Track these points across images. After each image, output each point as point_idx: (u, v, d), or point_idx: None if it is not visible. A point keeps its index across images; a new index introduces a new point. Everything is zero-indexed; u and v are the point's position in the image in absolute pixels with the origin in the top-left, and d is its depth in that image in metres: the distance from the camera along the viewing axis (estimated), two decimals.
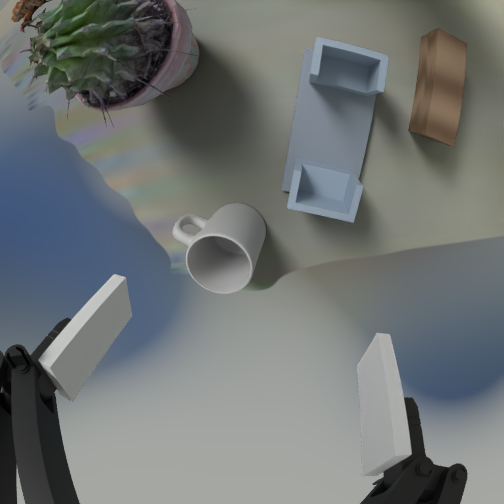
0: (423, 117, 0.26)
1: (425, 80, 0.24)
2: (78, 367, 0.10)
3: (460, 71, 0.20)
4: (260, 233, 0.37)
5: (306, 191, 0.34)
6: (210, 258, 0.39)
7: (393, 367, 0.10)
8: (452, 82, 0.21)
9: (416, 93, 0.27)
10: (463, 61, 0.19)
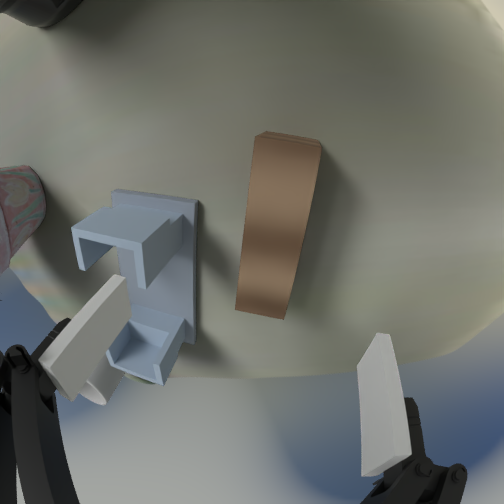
0: None
1: None
2: (78, 367, 0.10)
3: (298, 211, 0.19)
4: None
5: (139, 339, 0.33)
6: None
7: (393, 367, 0.10)
8: (280, 234, 0.21)
9: None
10: (307, 189, 0.19)
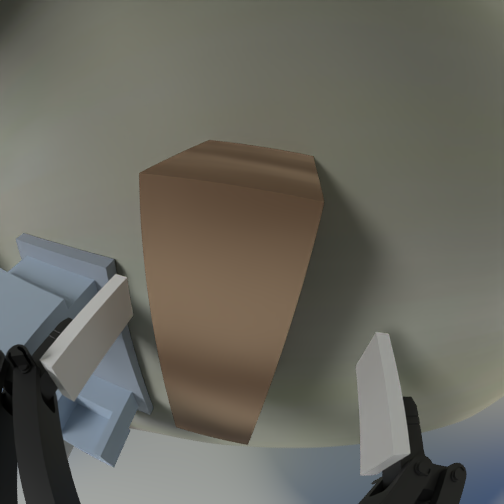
0: None
1: None
2: (80, 367, 0.10)
3: (260, 340, 0.08)
4: None
5: (85, 407, 0.22)
6: None
7: (392, 366, 0.10)
8: (226, 369, 0.10)
9: None
10: (281, 303, 0.08)
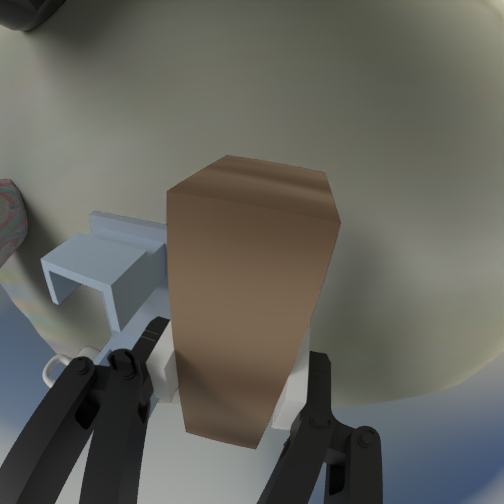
0: None
1: None
2: None
3: (275, 348, 0.09)
4: None
5: None
6: None
7: None
8: (240, 376, 0.10)
9: None
10: (297, 315, 0.08)
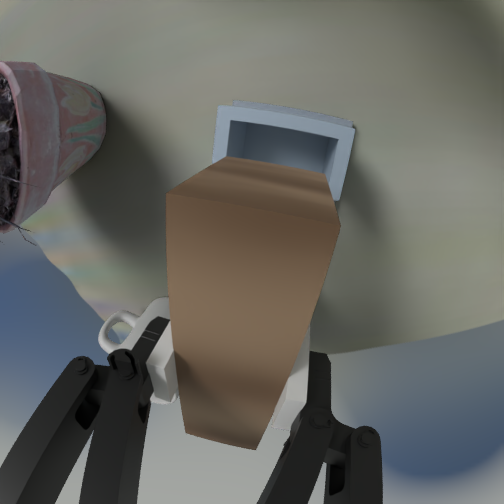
0: None
1: None
2: None
3: (275, 350, 0.09)
4: None
5: None
6: None
7: None
8: (240, 378, 0.10)
9: None
10: (297, 317, 0.08)
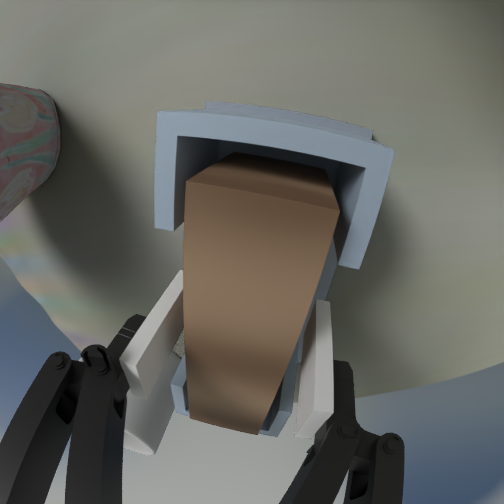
0: None
1: None
2: (154, 363, 0.11)
3: (280, 328, 0.10)
4: (171, 390, 0.25)
5: None
6: None
7: (326, 329, 0.12)
8: (246, 356, 0.11)
9: None
10: (301, 294, 0.09)
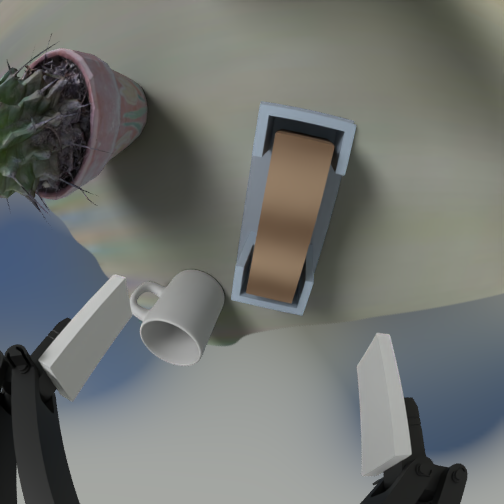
0: None
1: None
2: (78, 367, 0.10)
3: (311, 201, 0.21)
4: (214, 306, 0.36)
5: None
6: (168, 325, 0.38)
7: (393, 367, 0.10)
8: (293, 222, 0.22)
9: None
10: (320, 182, 0.20)
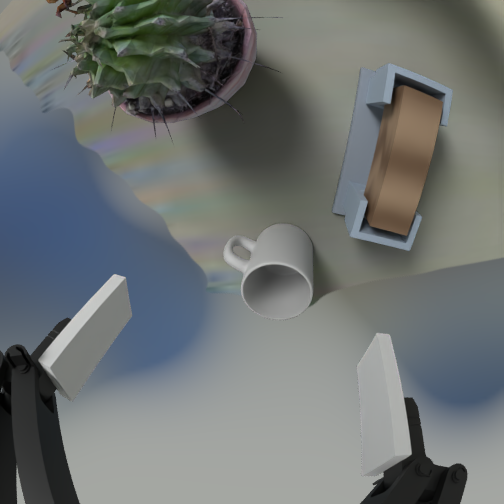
0: (373, 202, 0.27)
1: (382, 153, 0.25)
2: (78, 367, 0.10)
3: (428, 142, 0.21)
4: (312, 256, 0.36)
5: None
6: (258, 281, 0.38)
7: (393, 367, 0.10)
8: (415, 158, 0.22)
9: (373, 164, 0.28)
10: (434, 128, 0.20)
